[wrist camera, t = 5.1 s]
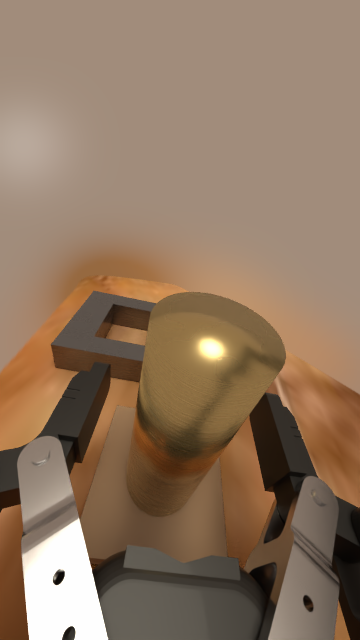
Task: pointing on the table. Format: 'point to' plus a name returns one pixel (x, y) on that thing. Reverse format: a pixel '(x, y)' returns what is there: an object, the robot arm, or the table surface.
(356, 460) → the table surface
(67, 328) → the rack plate
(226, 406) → the peg
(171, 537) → the pad
